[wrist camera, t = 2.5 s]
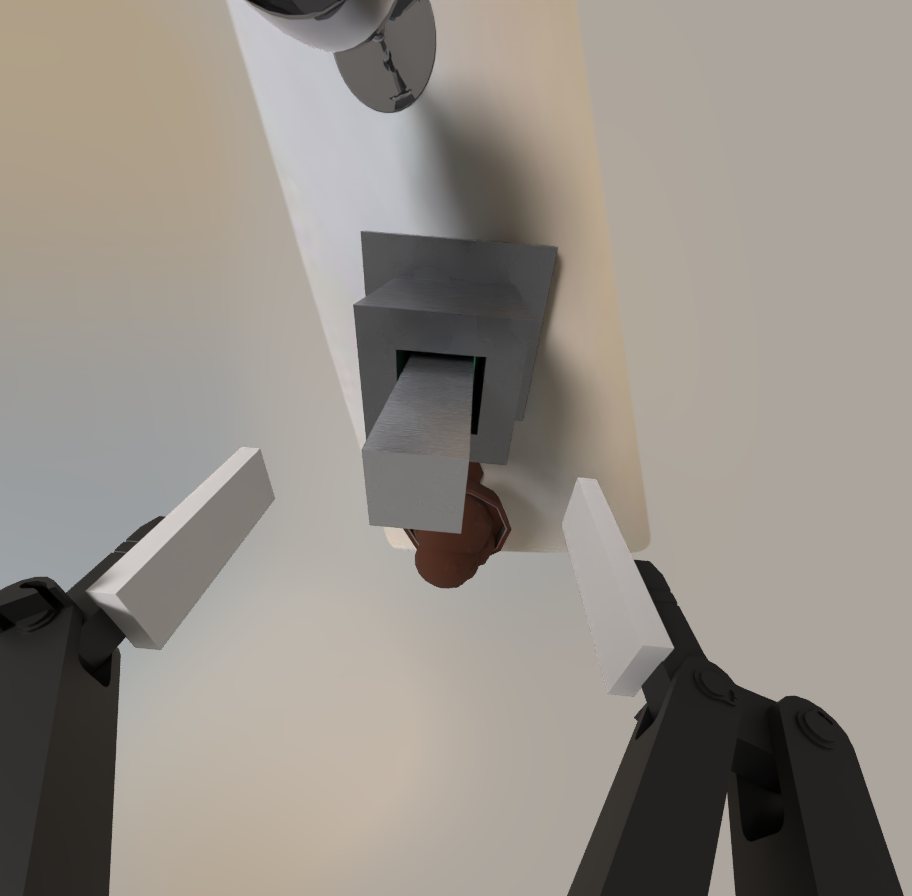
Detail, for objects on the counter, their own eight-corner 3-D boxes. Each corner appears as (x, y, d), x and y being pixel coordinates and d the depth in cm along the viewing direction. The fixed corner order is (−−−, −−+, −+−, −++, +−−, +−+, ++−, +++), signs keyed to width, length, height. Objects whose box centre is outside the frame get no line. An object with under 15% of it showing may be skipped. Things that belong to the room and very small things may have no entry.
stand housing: (366, 230, 29) (280, 237, 16) (554, 246, 29) (609, 264, 16) (377, 401, 38) (327, 487, 25) (521, 413, 37) (540, 507, 25)
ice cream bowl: (504, 504, 45) (513, 611, 33) (422, 503, 46) (400, 608, 34) (506, 436, 39) (518, 535, 27) (412, 437, 40) (380, 534, 28)
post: (429, 314, 30) (357, 445, 12) (477, 319, 30) (473, 456, 12) (428, 361, 32) (366, 527, 15) (473, 365, 32) (464, 536, 15)
